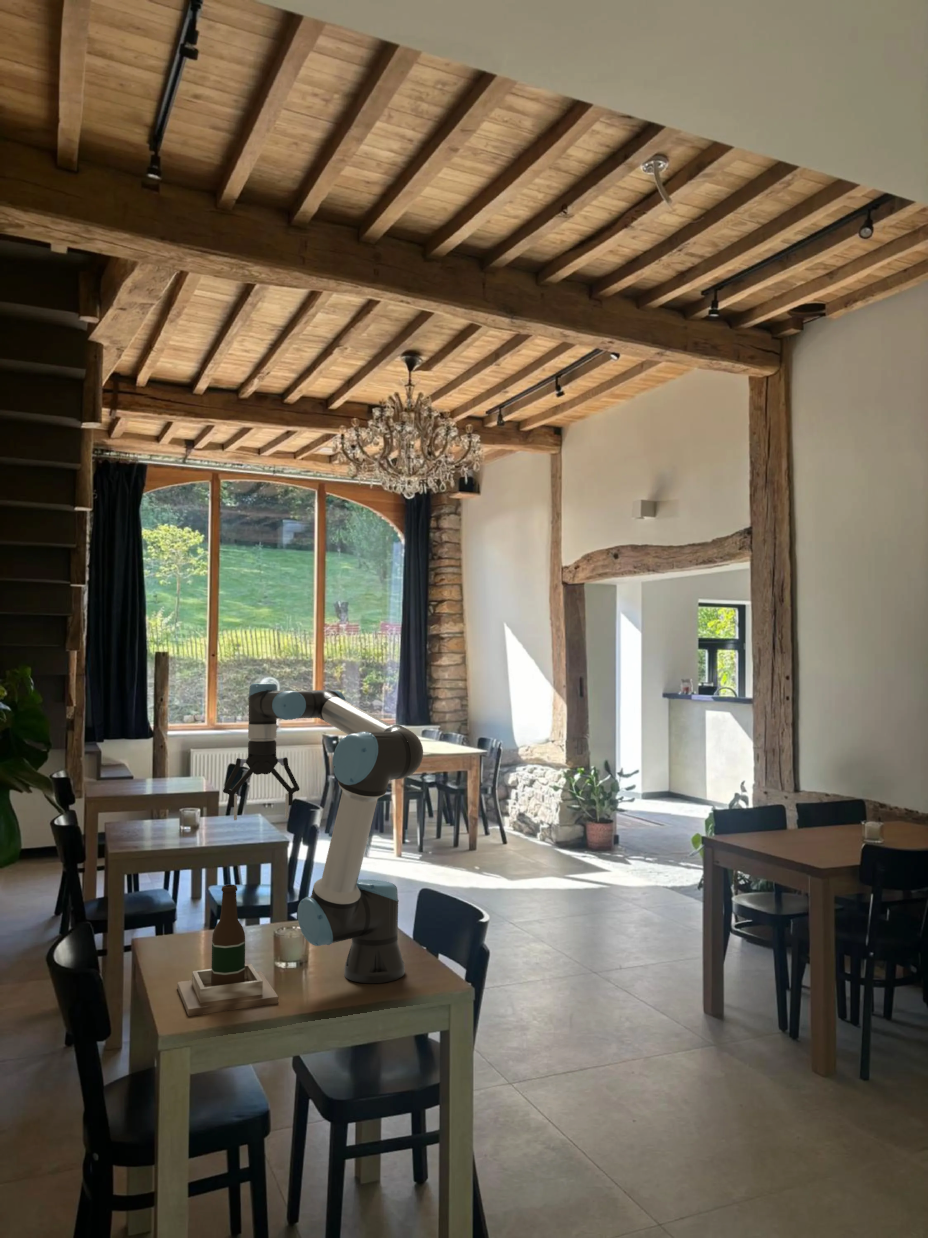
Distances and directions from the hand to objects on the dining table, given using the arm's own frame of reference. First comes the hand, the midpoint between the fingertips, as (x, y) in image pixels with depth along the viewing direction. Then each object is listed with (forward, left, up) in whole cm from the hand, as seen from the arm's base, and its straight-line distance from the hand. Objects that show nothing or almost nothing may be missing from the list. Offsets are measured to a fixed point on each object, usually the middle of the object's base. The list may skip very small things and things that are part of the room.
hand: (261, 818), depth 249 cm
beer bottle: (-15, +26, -35) cm, 46 cm away
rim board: (-15, +26, -37) cm, 47 cm away
